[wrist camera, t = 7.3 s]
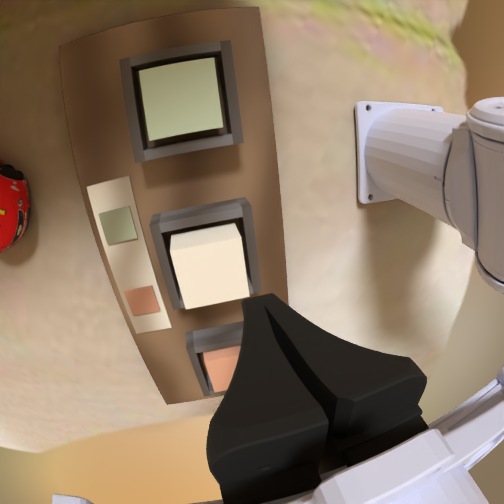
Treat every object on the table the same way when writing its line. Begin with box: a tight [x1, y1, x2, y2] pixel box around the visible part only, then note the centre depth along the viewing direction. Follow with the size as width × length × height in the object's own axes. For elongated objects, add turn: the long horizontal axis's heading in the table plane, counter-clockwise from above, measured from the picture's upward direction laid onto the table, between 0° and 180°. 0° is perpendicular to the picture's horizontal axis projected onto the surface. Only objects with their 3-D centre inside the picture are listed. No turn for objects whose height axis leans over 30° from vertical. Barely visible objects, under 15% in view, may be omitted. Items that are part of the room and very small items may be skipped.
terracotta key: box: [203, 344, 241, 392], centre depth 24 cm, size 4×4×2 cm
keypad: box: [59, 7, 289, 405], centre depth 20 cm, size 13×32×3 cm, turn 7°
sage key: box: [139, 58, 223, 141], centre depth 15 cm, size 4×4×2 cm
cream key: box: [170, 223, 250, 309], centre depth 19 cm, size 4×4×2 cm
